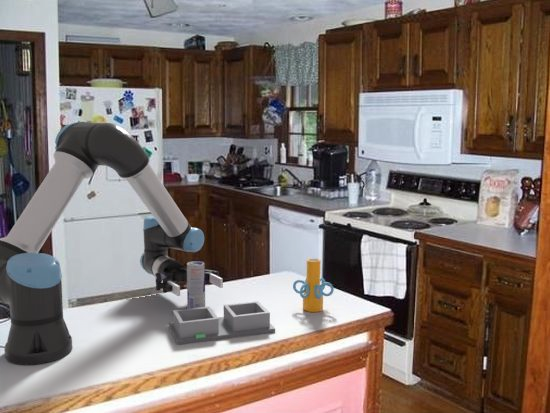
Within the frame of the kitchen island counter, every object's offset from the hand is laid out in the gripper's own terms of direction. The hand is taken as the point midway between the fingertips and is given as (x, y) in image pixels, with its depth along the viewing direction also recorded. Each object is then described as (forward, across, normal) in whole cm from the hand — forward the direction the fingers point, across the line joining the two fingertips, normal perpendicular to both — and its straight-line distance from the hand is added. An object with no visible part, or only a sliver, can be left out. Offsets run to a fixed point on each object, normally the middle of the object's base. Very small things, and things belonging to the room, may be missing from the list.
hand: (200, 287), depth 164 cm
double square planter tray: (+12, +1, -8) cm, 15 cm away
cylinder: (+14, -30, -9) cm, 34 cm away
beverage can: (-3, 0, -9) cm, 9 cm away
